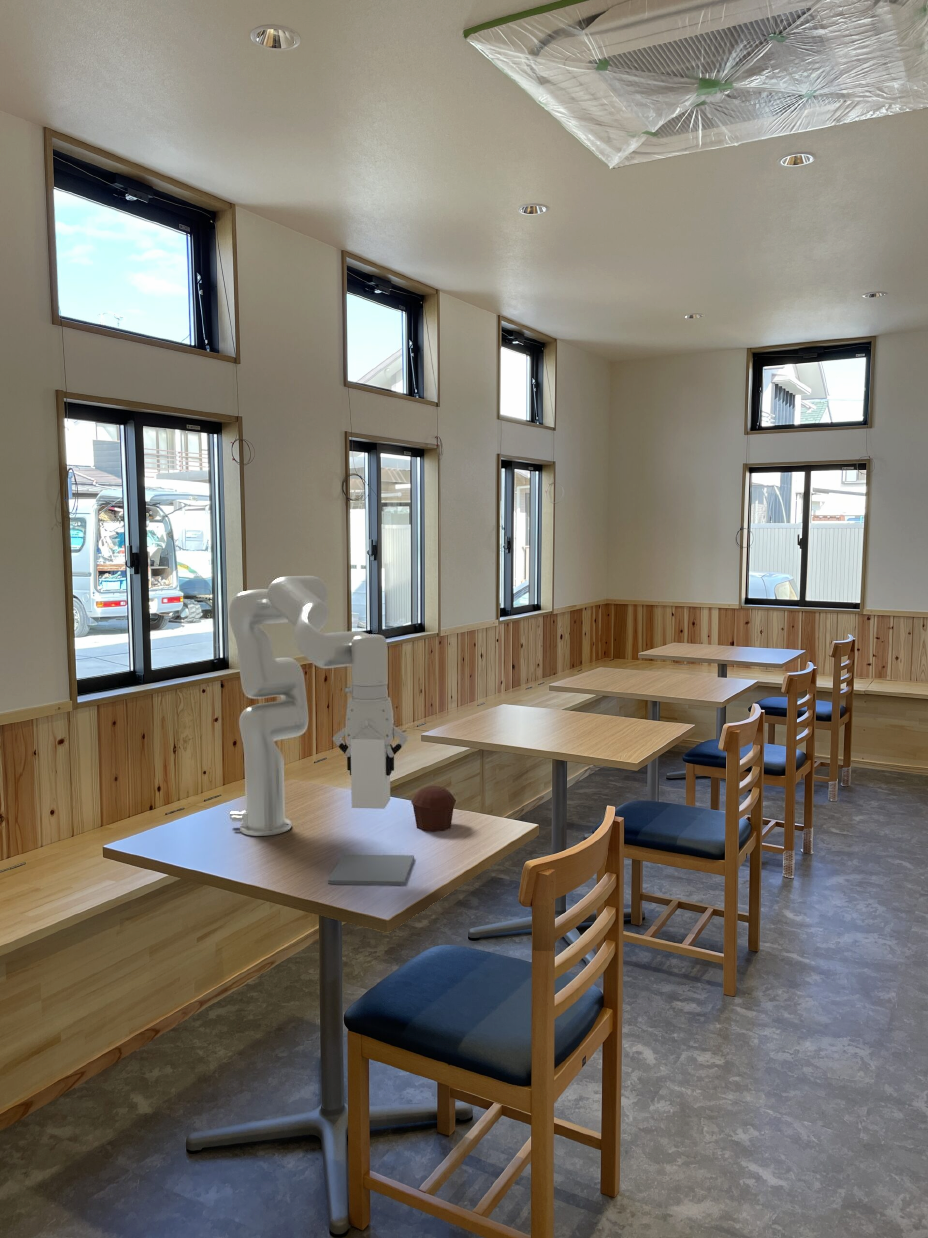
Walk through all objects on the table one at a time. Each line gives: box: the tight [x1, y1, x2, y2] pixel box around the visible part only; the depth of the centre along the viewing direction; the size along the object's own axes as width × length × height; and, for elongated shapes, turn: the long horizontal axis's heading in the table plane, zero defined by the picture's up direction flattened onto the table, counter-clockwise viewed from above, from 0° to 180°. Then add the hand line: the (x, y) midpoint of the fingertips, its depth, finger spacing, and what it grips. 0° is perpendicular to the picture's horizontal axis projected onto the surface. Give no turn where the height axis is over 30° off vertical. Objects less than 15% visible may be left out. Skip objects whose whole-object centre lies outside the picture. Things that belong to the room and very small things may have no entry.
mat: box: [327, 853, 415, 886], centre depth 192 cm, size 16×16×1 cm
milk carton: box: [350, 720, 391, 810], centre depth 190 cm, size 7×7×19 cm
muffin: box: [410, 785, 457, 833], centre depth 223 cm, size 12×11×10 cm
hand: (370, 773), depth 191 cm, fingers closed on milk carton, 7 cm apart
